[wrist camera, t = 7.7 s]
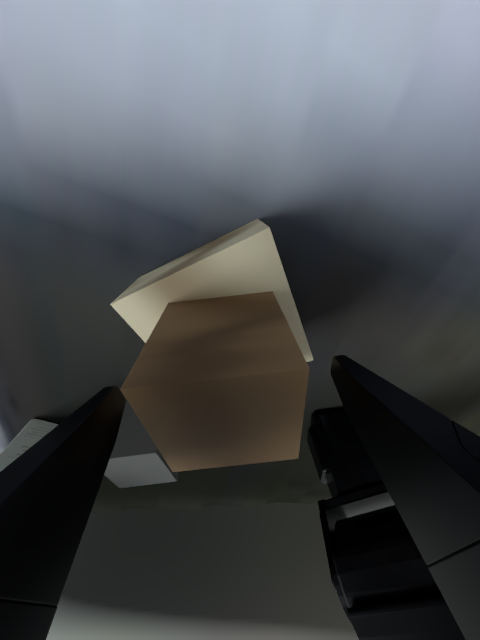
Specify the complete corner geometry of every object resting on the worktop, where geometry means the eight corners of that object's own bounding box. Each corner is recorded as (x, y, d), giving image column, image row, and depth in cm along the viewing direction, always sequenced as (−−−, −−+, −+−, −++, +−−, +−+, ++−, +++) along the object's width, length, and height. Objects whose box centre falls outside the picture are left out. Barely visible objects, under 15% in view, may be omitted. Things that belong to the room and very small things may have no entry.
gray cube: (172, 394, 18) (156, 452, 14) (186, 424, 21) (176, 481, 17) (120, 401, 19) (88, 461, 14) (141, 430, 21) (119, 487, 17)
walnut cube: (272, 291, 9) (309, 368, 5) (273, 366, 12) (298, 458, 8) (168, 303, 9) (120, 389, 5) (191, 375, 12) (172, 472, 8)
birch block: (256, 218, 11) (269, 227, 8) (294, 323, 15) (313, 359, 12) (141, 275, 13) (109, 304, 9) (203, 358, 17) (197, 399, 13)
